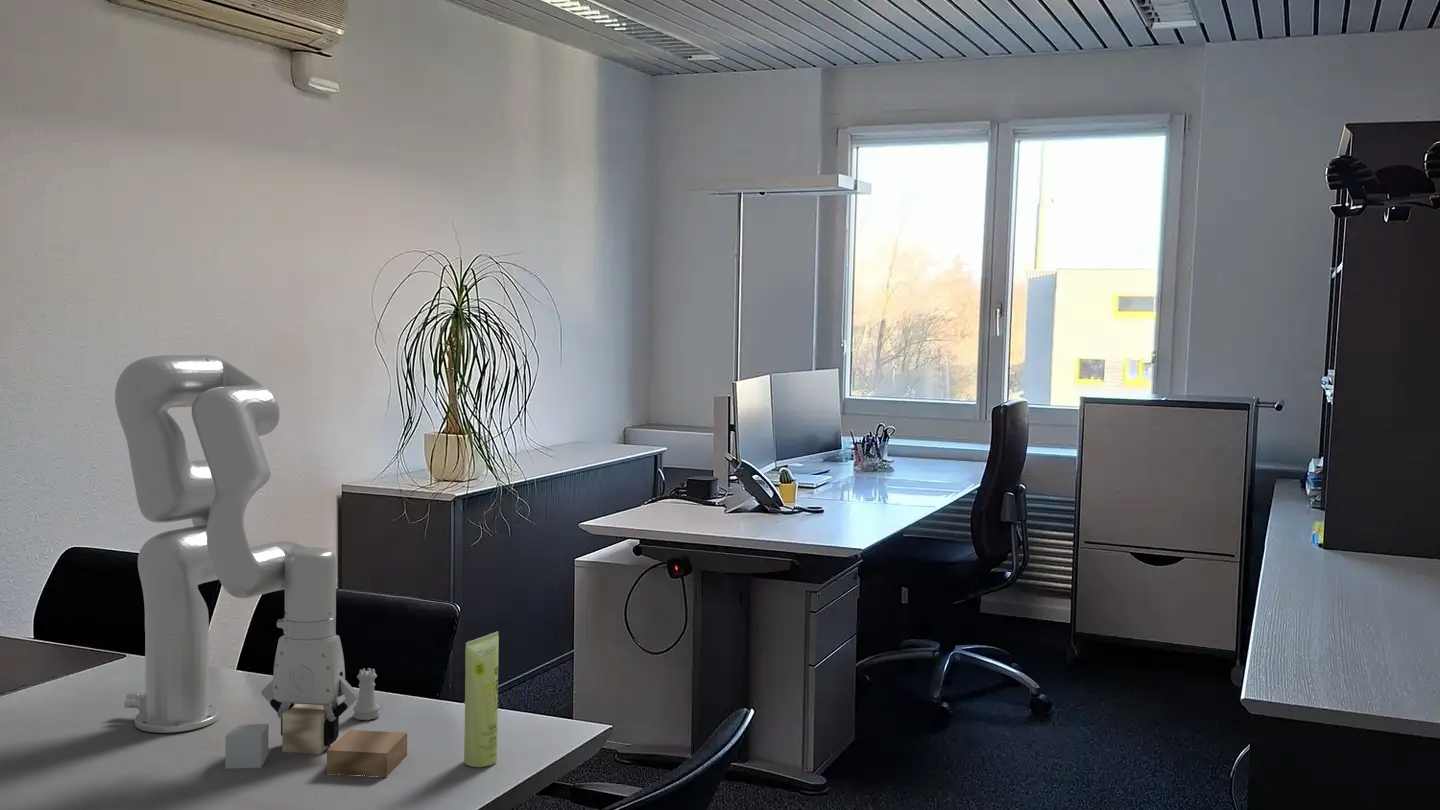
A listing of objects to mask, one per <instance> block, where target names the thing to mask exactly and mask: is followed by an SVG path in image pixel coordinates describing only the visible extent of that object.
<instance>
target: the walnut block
mask: <svg viewBox="0 0 1440 810" xmlns="http://www.w3.org/2000/svg"><path fill="white" fill-rule="evenodd" d="M406 756H407V757H408V732H403V731H402V732H398V731H397V732H396V731H381V730H379V731H378V730H377V731H376V730H363V729H362V730H361V729H359V730H356V729H350V730H348V731H347V732H346V733H345V734H343V735H342V736H341V737H340V738H338V740H336V742H335V743H333V744H332V745H331V746H330V747H328V748H327V749H326V775H327V774H334V775H333V776H342V775H361V776H362V775H363V776H364V775H365V776H378V777H377V778H380V777H387V776H388V775H389V774H390V773H391V772H392V771H393V770H394V769H395V768H396V767H397V766H398V767H399V766H400V764H401V763H402V762H403V761H404V760H405V759H406V758H407V757H406ZM405 757H406V758H405ZM404 758H405V759H404ZM403 759H404V760H403ZM402 760H403V761H402ZM401 761H402V762H401ZM398 767H397V768H398ZM397 768H396V769H397ZM396 769H395V770H396ZM395 770H394V771H395ZM394 771H393V772H394ZM393 772H392V773H393ZM392 773H391V774H392ZM335 774H336V775H335ZM338 774H340V775H338ZM391 774H390V775H391ZM390 775H389V776H390ZM361 776H360V777H361ZM389 776H388V777H389ZM388 777H387V778H388Z"/></svg>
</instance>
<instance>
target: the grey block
mask: <svg viewBox="0 0 1440 810" xmlns="http://www.w3.org/2000/svg"><path fill="white" fill-rule="evenodd" d="M268 757H269V723H260V724H259V723H256V724H255V723H253V724H252V723H251V724H250V723H249V724H234V725H232V727H231V728H230V730H228V732H227V733H226V734H225V770H226V769H227V770H228V769H254V768H255V769H256V768H257V769H259V768H260V769H261V768H262V766H263V765H264V763H265V762H266V760H267V758H268Z"/></svg>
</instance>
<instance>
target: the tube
mask: <svg viewBox="0 0 1440 810" xmlns="http://www.w3.org/2000/svg"><path fill="white" fill-rule="evenodd" d="M499 637H500V636H499V631H495V632H492V633H489V634H487V635H484V636H482V637H478V638H476V639H473V640H469V641H467V642H465V648H464V649H465V650H464V651H465V655H464V656H465V659H464V661H465V667H464V668H465V671H464V672H465V673H464V674H465V675H464V676H465V677H464V683H465V684H464V687H465V688H464V740H463V741H464V745H463V746H464V747H463V750H464V751H463V753H464V754H463V761H464V764H465V765H466V766H469V767H472V768H485V767H489V766H492V765H494V764H496V763H497V761H498V731H499V730H498V724H499V723H498V722H499V721H498V719H499V713H498V712H499V710H498V709H499V648H500V647H499V645H500V644H499V640H500V639H499Z"/></svg>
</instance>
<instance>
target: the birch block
mask: <svg viewBox="0 0 1440 810" xmlns="http://www.w3.org/2000/svg"><path fill="white" fill-rule="evenodd" d="M326 720H327V716H326V713H325V711H324V708H323V705H310V704H295V706H293V707H292V708H290V709H289V710H287V711H286V712H284V713H283V716H282V736H281V741H282V742H281V743H282V746H281V747H282V750H281V751H282V753H292V752H297V753H298V752H299V753H298V754H306V753H314V754H313V755H321V754H322V753H323V752H324V750H325V749H326V748H327V747H328V748H330V747H329V746H325V745H324V722H325V721H326ZM333 744H334V743H332V745H333ZM328 748H327V749H328ZM327 749H326V750H327ZM326 750H325V751H326ZM297 753H296V754H297ZM320 753H321V754H320Z"/></svg>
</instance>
